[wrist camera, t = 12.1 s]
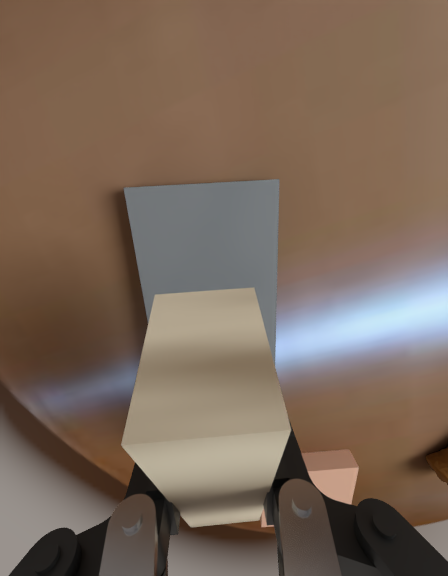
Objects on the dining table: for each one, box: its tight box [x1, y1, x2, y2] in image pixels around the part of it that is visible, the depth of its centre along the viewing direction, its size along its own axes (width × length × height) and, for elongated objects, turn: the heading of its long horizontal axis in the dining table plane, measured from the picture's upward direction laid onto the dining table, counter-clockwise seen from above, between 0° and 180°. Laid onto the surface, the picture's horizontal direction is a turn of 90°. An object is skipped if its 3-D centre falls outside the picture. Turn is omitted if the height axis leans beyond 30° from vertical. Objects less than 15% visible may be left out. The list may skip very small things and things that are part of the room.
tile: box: [260, 449, 359, 527], centre depth 22 cm, size 2×8×7 cm
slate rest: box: [124, 179, 279, 365], centre depth 16 cm, size 20×8×1 cm, turn 3°
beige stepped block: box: [121, 287, 291, 527], centre depth 11 cm, size 15×6×4 cm, turn 4°
